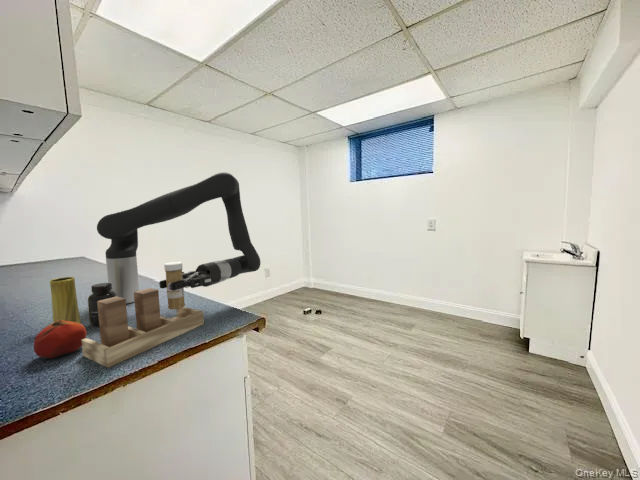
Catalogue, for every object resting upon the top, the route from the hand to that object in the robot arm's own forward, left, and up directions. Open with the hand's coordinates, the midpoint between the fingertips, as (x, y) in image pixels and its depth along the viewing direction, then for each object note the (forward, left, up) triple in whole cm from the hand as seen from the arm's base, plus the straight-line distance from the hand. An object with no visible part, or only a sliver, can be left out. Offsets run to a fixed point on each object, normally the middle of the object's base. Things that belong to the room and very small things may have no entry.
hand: (166, 286), depth 74 cm
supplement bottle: (-23, -5, -13) cm, 27 cm away
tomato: (-11, -19, -13) cm, 26 cm away
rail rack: (0, -5, -13) cm, 14 cm away
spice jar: (0, +3, -7) cm, 8 cm away
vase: (-31, -11, -13) cm, 36 cm away
